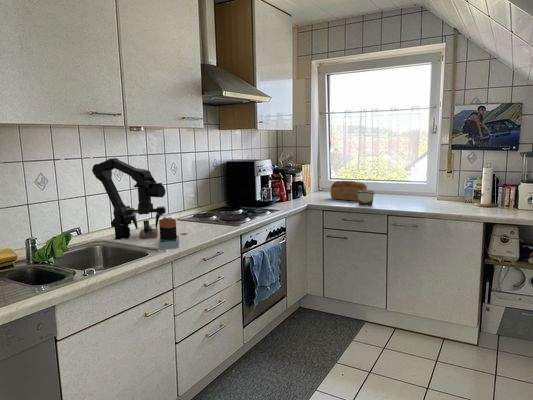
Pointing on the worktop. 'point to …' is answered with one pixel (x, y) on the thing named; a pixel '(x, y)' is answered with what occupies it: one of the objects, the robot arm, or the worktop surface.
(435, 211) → the worktop surface
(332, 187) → the bread
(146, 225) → the crank
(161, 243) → the tray
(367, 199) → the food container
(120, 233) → the robot arm
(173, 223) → the battery
